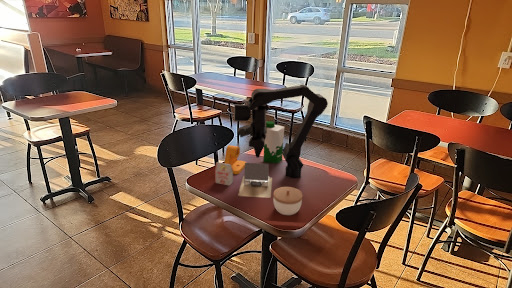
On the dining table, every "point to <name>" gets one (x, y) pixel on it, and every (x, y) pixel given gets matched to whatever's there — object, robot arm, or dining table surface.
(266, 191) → the mounting board
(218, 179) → the white printed packet
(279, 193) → the lidded jar
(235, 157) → the bracket
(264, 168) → the loose leaf
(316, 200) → the dining table surface
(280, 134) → the milk carton
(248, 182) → the fixed leaf
